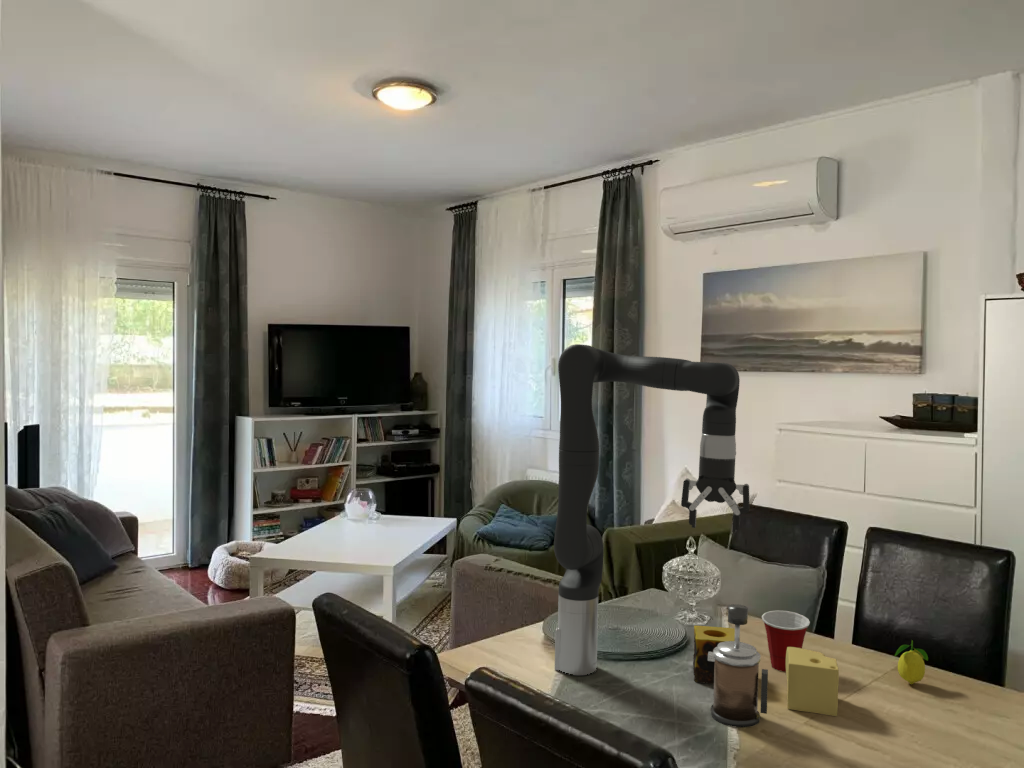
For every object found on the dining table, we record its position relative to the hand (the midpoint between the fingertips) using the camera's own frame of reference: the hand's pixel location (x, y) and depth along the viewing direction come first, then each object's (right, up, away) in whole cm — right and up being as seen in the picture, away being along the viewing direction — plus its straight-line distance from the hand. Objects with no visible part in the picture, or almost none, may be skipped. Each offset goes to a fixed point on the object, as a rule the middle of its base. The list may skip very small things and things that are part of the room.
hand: (713, 529), depth 171 cm
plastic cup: (+21, -36, +15) cm, 44 cm away
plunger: (+2, -23, -11) cm, 25 cm away
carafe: (+1, -36, -11) cm, 38 cm away
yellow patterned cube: (+3, -36, +10) cm, 37 cm away
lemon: (+46, -37, +7) cm, 59 cm away
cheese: (+19, -36, -4) cm, 41 cm away
